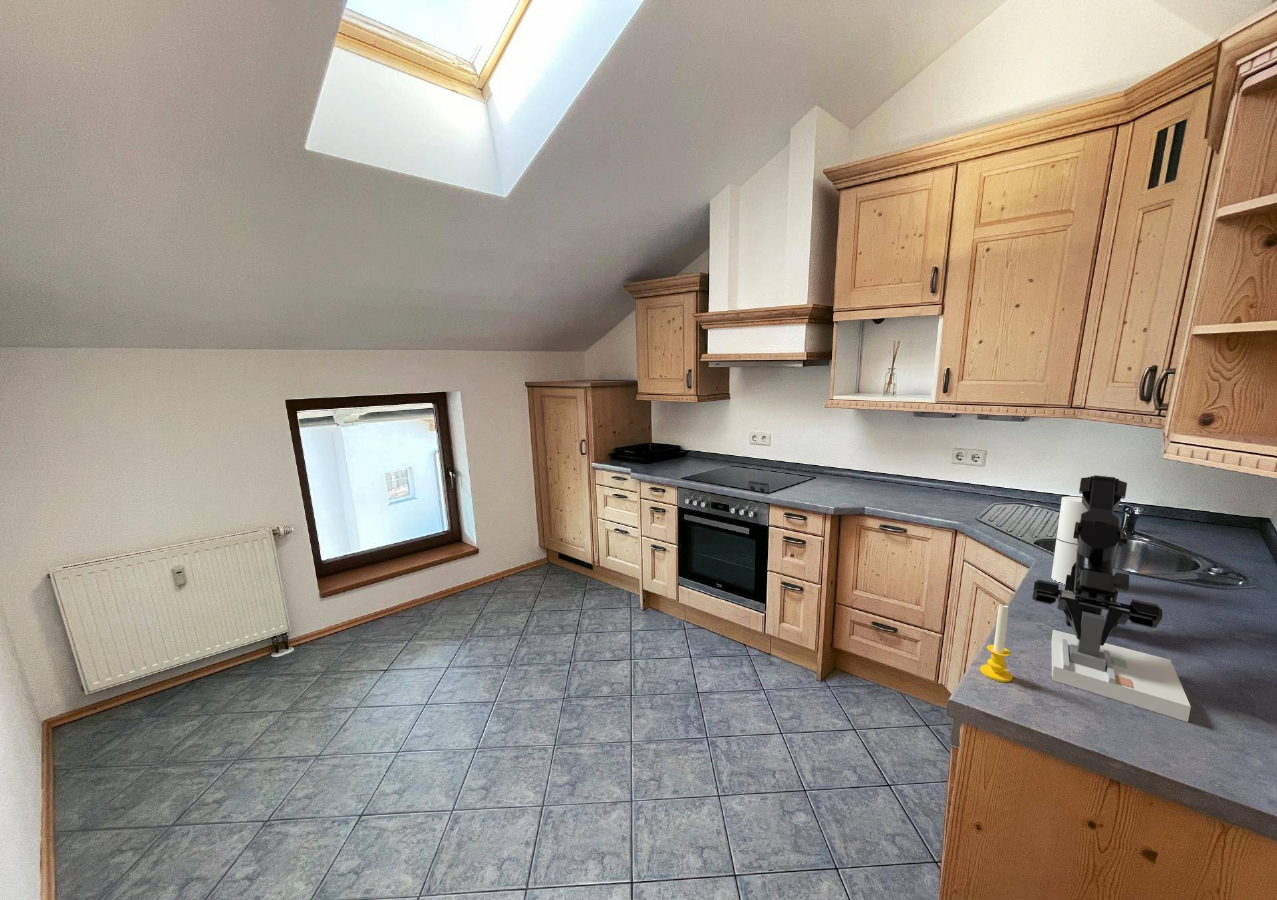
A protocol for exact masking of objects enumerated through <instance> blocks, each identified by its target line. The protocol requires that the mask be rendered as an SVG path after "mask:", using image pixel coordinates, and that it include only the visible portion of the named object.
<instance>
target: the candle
mask: <svg viewBox="0 0 1277 900" xmlns="http://www.w3.org/2000/svg"><path fill="white" fill-rule="evenodd" d="M996 618H997V619H996V626H995V635H994V641H993V644H989V645H988V644H987V646H986V648H987V650H988V651H989V652H991V654H990V658H988V659H987V662H986V663H985V664H982V665H981V666H980V669H979V670H980V672H981V673H982V675H984V676H985V677H987V678H989V679H991V680H992V681H997V682H1002V683H1010V682H1011V681H1012V680H1013V675H1012V673H1010V672H1009V671H1008V670H1007V669H1008V665H1007V663H1006V662H1005V661H1006V658H1005V657H1008V656H1011V655H1012V652H1011V651H1010V650H1009V649H1008V648H1006V647H1005V645H1006V640H1007V639H1006V637H1007V631H1008V630H1007V628H1008V619H1009V606H1008V605H1005V603H1004V602H1003V604H999V605H998V611H997V617H996Z"/></svg>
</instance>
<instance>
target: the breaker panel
mask: <svg viewBox="0 0 1277 900" xmlns="http://www.w3.org/2000/svg"><path fill="white" fill-rule="evenodd" d="M1050 643H1051V644H1050V645H1051V680H1052V681H1055V682H1057V683H1061V684H1064V685H1066V686H1070V687H1072V688H1073V687H1074V688H1076V689H1079V690H1083V691H1086V692H1090V693H1093V694H1096V695H1099V696H1102V697H1105V698H1109V699H1112V700H1115V701H1118V702H1121V703H1125V704H1128V705H1131V706H1134V707H1138V708H1141V709H1145V710H1148V711H1151V712H1153V713H1157V714H1161V715H1164V716H1167V717H1170V718H1174V719H1175V720H1180V721H1183V722H1187V723H1188V722H1189V717H1190V712H1191V704H1190V702H1189V699H1188V697H1187V694H1186V693H1185V690H1184V688H1183V685H1182V683H1181V681H1180V679H1179V676H1178V674H1177V672H1176V669H1175V667H1174V665H1173V662H1172V661H1171V659H1168V658H1165V657H1160V656H1158V655H1153V654H1149V653H1147V652H1146V653H1145V652H1142V651H1137V650H1133V649H1130V648H1125V647H1122V646H1118V645H1113V644H1111V643H1106V642H1105V644H1104V645H1103V646H1101V645H1100V652H1103V653H1104V654H1105V659H1106V666H1105V671H1102V670H1098V669H1095V668H1091V667H1088V666H1084V665H1081V664H1077V663H1074V662H1070V654H1069V652H1070V645H1071V644H1073V645H1077V646H1078V639H1077V638H1076V635H1075V634H1072V633H1067V632H1064V631H1061V630H1060V631H1059V630H1056V629H1052V635H1051V641H1050Z"/></svg>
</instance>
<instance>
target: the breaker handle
mask: <svg viewBox="0 0 1277 900" xmlns="http://www.w3.org/2000/svg"><path fill="white" fill-rule="evenodd" d="M1104 620H1105V617H1104V615H1102V616H1100V615H1096V614H1092V613H1088V612H1083V613H1082V620H1081V637H1080V640H1078V646H1077V645H1073V644H1071V645H1070V652H1069V654H1070V662H1074V663H1077V664H1081V665H1084V666H1088V667H1091V668H1095V669H1098V670H1102V671H1105V666H1106V659H1105V654H1104V653H1103V652H1100V645H1101V638H1102V632H1103V626H1104Z"/></svg>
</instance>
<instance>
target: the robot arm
mask: <svg viewBox="0 0 1277 900" xmlns="http://www.w3.org/2000/svg"><path fill="white" fill-rule="evenodd" d="M1079 482H1080V484H1079V489H1078V494H1080V495H1082V496H1081V498H1082V503H1083V505H1084V506H1085V507H1086V509H1087V510H1088V511H1087V512H1084V513H1082V514H1081V519H1080V522H1076V524H1075V529H1074V536H1073V538H1076V539H1078V540H1077V542H1078V549H1077V557H1076V563H1075V564H1074V565H1073V566H1072V570H1071V575H1068V574H1067V577H1066V584H1065V585H1064V589H1059V588H1060V583H1058V582H1052V581H1047V580H1043V579H1037V580H1035V581H1034V584H1033V589H1032V595H1031V596H1032V600H1033V601H1035V602H1038V603H1042V604H1047V605H1052V604H1054V603H1056V602H1058V603H1057V608H1056V609H1057V610H1059V611H1061V612H1063V613H1064V614H1065V624H1066V625H1067V626H1070V627H1071V628H1072V630H1073V633H1074V635H1076V638H1077V639H1078V640H1080V637H1081V620H1082V613H1083V612H1088V613H1092V614H1096V615H1100V616H1103V610H1105V611H1106V612H1107V613H1106V615H1105V617H1104V626H1103V632H1102V638H1101V646H1103V645H1104V644H1105V643H1106V641H1107V640H1108V638H1109V636H1110V635H1111V633H1112V631H1113V630H1114V629H1115V628H1116V627H1117V626H1118V625H1124V626H1125V625H1126V624H1127V623H1128V621H1129V622H1130V623H1131V624H1134V625H1137V626H1142V627H1147V628H1151V629H1153V628H1155V629H1157V627H1158V626H1159V624H1160V622H1162V621H1161V620H1162V619H1163V609H1162V607H1161V606H1160V605H1159V604H1157V603H1153V602H1148V601H1145V600H1144V601H1143V600H1138V599H1133V598H1132V599H1131V602H1130V604H1127V603H1122V602H1117V600H1118V594H1119V591H1123V592H1126V591H1129V588H1130V574H1128V573H1125V572H1124V573H1123V572H1115V573H1114V559H1115V557H1116V554H1117V551H1118V547H1123V546H1124V545H1127V544H1128V535H1127V534H1126V533H1125V530H1124V529H1123V528H1120V527H1121V525H1120V523H1121V522H1120V521H1121V519H1120V518H1119V517H1117V516H1116V515H1115V514H1114V513H1113V512H1114V511H1116V510H1117V509H1118V508H1119V507H1120V504H1121V500H1125V498H1126V496H1127V495H1126V494H1127V490H1128V489H1127V487H1128V482H1125V481H1123V480H1120V479H1119V478H1116V477H1115V476H1107V475H1106V476H1105V475H1090V476H1087V477H1081V478H1080V481H1079Z"/></svg>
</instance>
